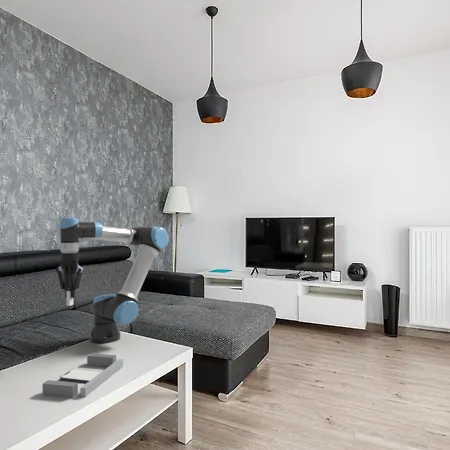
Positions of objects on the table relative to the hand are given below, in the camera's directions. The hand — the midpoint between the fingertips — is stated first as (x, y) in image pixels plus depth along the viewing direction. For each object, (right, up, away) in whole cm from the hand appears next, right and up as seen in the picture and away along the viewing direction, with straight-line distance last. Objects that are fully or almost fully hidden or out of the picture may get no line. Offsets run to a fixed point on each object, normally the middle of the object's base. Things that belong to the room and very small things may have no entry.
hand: (70, 305), depth 166 cm
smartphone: (+13, -25, -19) cm, 35 cm away
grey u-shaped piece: (+15, -24, -20) cm, 35 cm away
